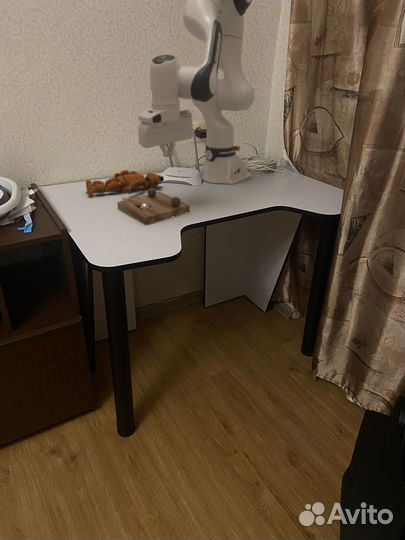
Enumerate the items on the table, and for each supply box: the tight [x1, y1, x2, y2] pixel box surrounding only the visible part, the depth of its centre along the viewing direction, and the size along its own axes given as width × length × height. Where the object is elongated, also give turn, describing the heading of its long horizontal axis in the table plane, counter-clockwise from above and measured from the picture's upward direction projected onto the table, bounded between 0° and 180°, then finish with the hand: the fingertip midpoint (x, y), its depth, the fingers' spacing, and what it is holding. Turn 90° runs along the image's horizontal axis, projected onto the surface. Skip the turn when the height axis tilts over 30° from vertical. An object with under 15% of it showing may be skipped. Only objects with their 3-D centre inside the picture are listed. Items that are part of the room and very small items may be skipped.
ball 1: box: [147, 187, 157, 196], centre depth 143 cm, size 3×3×3 cm
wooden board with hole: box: [116, 191, 190, 226], centre depth 138 cm, size 18×18×2 cm
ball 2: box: [171, 196, 182, 206], centre depth 135 cm, size 3×3×3 cm
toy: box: [85, 169, 165, 199], centre depth 155 cm, size 20×7×30 cm
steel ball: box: [140, 203, 150, 210], centre depth 136 cm, size 4×4×4 cm
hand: (168, 156), depth 134 cm, fingers closed
